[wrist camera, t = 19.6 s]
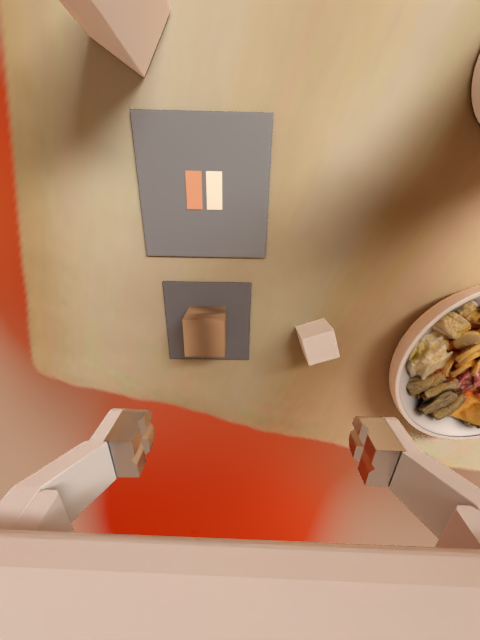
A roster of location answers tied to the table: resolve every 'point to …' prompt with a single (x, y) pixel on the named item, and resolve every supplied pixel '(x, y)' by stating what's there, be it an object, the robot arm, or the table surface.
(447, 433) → the bowl
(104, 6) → the milk carton
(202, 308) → the walnut block
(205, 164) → the tile
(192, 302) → the mat
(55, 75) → the table surface
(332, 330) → the beige block
